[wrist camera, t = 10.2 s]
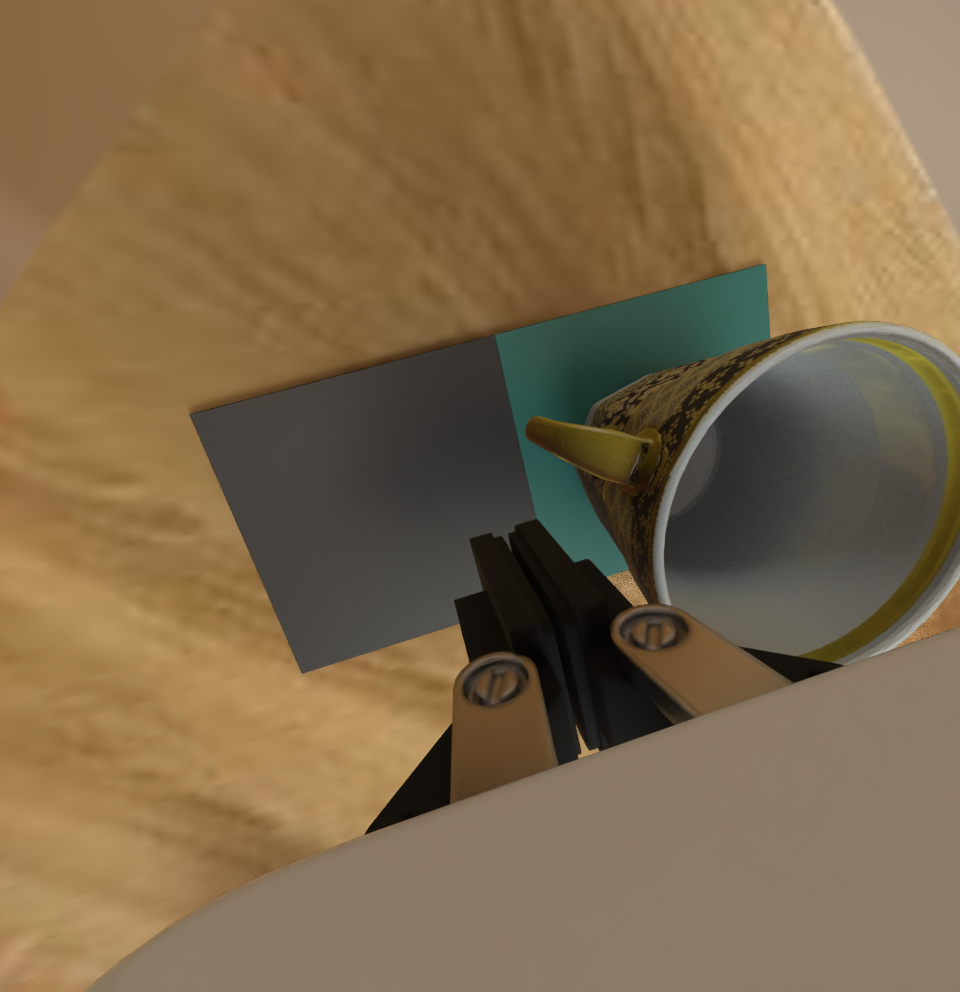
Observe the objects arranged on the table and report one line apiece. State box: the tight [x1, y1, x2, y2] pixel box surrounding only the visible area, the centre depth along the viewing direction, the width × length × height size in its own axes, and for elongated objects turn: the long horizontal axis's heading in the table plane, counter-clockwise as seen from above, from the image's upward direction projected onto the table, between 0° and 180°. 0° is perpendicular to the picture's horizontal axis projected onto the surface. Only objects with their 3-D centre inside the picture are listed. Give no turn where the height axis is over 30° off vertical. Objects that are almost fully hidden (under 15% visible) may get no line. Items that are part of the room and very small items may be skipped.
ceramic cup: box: [525, 321, 960, 665], centre depth 17 cm, size 13×10×10 cm
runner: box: [190, 264, 770, 674], centre depth 22 cm, size 12×24×1 cm, turn 104°
